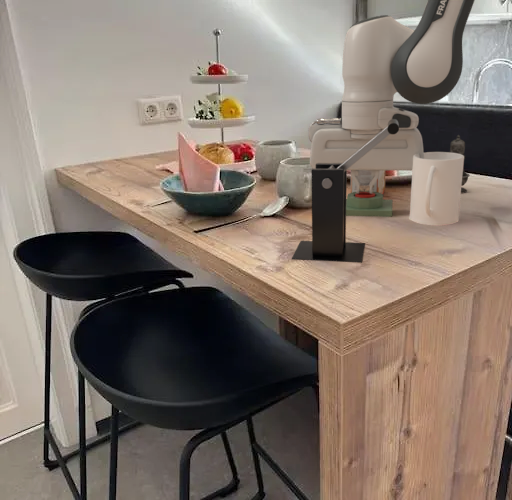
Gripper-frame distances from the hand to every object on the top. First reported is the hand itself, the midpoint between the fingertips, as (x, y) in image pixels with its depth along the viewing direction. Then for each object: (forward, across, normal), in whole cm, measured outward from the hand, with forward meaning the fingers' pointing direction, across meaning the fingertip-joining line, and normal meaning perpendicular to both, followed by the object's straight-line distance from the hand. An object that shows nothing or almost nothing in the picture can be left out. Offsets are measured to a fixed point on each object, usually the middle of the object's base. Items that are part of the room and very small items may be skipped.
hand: (364, 193), depth 93 cm
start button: (+2, 0, 0) cm, 2 cm away
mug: (+4, +12, -6) cm, 14 cm away
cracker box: (+4, 0, +13) cm, 14 cm away
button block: (+4, 0, 0) cm, 4 cm away
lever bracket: (+4, -4, -23) cm, 24 cm away
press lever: (-10, +1, -23) cm, 25 cm away
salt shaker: (+4, +18, +21) cm, 28 cm away
